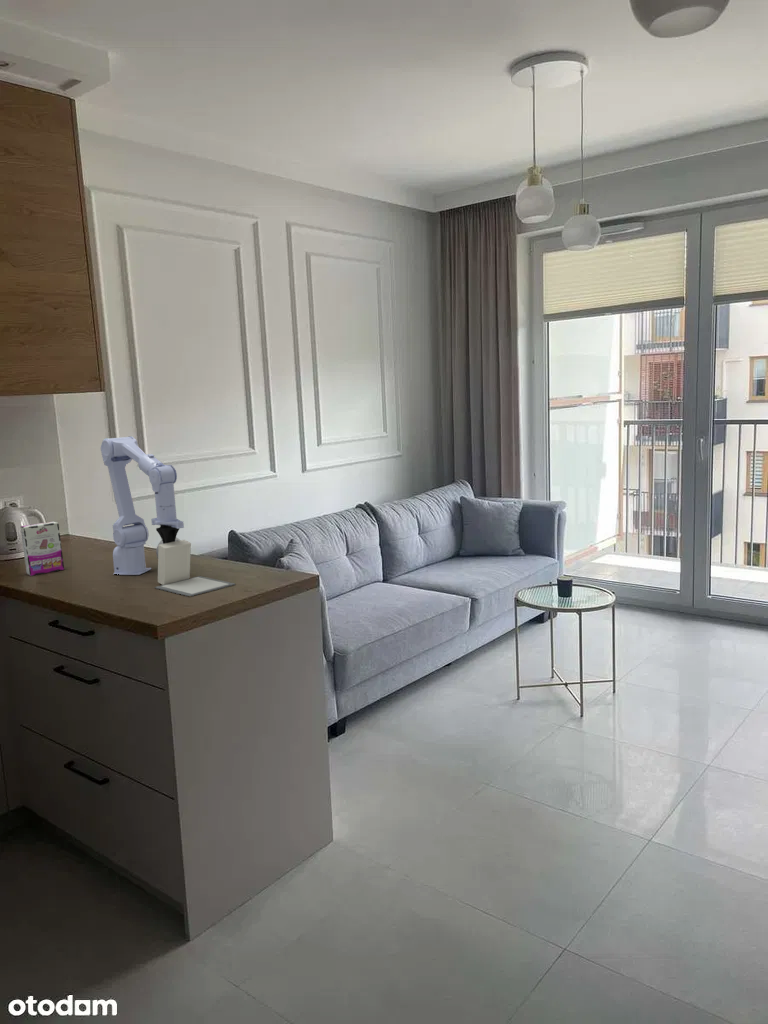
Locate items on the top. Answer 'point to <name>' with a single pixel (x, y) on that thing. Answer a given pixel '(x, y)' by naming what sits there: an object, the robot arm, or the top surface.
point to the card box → (174, 561)
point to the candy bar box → (42, 548)
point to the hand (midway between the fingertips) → (169, 549)
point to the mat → (194, 586)
